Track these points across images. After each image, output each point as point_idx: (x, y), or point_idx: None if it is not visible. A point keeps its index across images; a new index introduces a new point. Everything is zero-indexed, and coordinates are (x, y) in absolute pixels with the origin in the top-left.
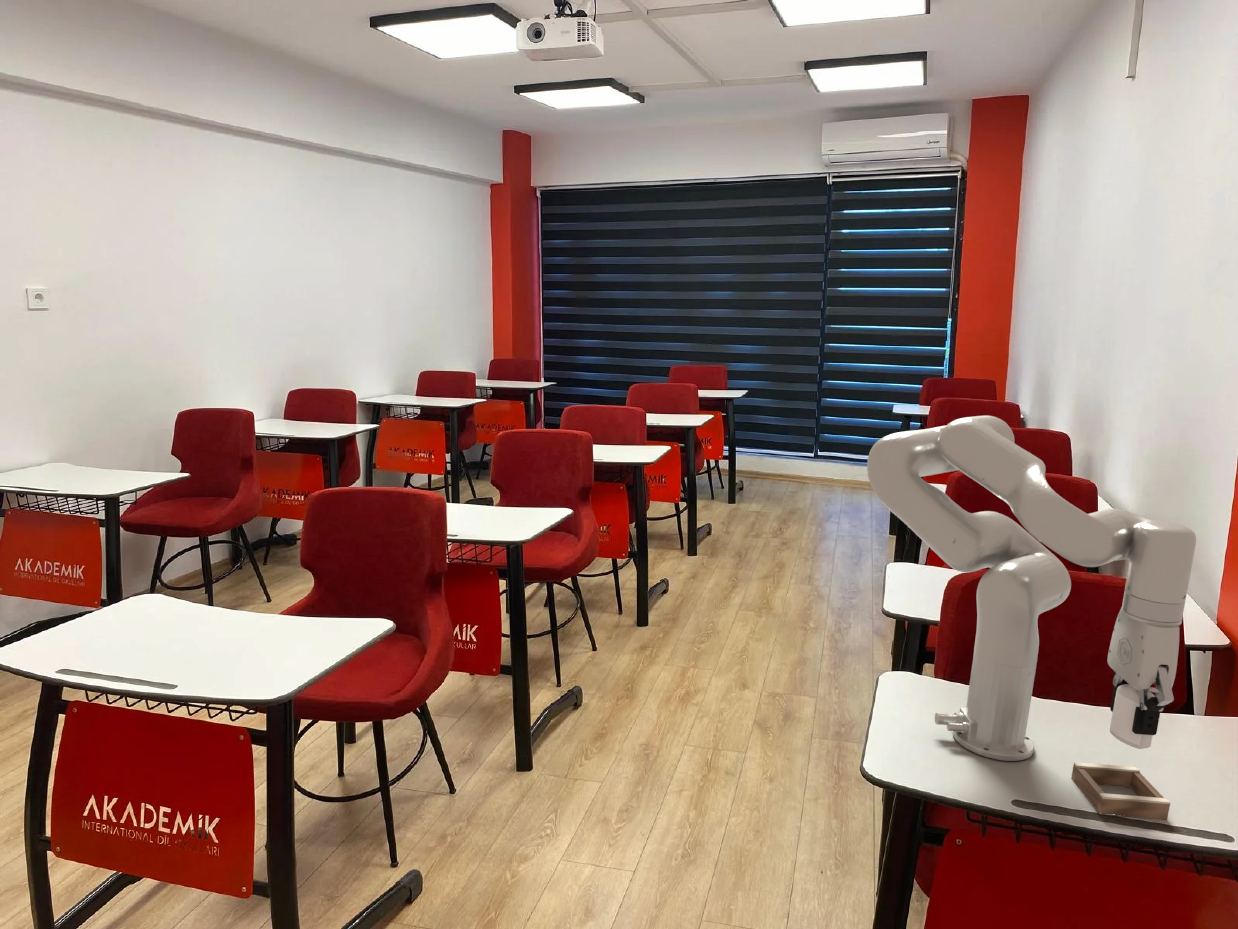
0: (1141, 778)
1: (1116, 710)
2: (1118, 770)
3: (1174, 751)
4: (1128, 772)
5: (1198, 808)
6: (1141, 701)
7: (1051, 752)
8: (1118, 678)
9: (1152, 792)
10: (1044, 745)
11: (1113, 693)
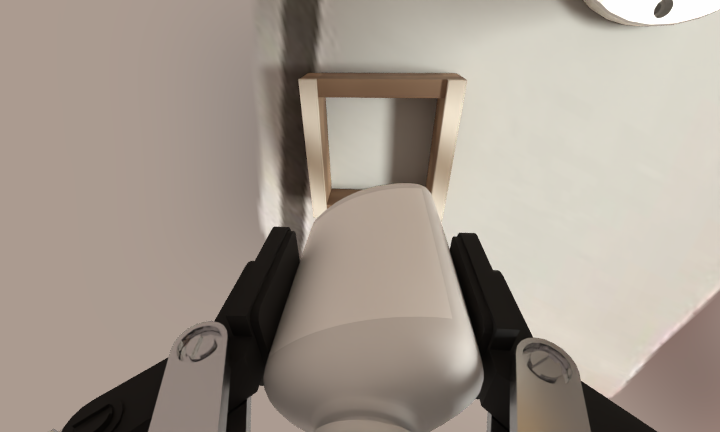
0: None
1: (407, 241)
2: (433, 180)
3: (534, 311)
4: None
5: None
6: (194, 367)
7: (585, 78)
8: (527, 408)
9: None
10: (624, 74)
11: (497, 295)
